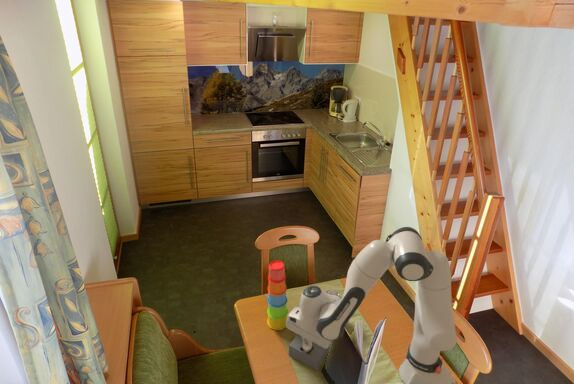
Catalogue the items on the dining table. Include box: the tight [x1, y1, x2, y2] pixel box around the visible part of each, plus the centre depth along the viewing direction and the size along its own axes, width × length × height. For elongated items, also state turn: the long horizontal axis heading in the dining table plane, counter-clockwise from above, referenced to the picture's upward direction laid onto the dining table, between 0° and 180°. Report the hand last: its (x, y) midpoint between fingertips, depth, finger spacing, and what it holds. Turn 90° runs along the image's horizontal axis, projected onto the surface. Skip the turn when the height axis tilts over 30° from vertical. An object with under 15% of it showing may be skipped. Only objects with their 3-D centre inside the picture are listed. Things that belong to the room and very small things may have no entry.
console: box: [288, 334, 332, 371], centre depth 170 cm, size 14×19×6 cm
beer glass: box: [325, 289, 340, 296], centre depth 184 cm, size 7×7×15 cm
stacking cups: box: [266, 260, 289, 331], centre depth 175 cm, size 10×10×35 cm
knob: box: [302, 343, 312, 354], centre depth 164 cm, size 4×4×6 cm
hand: (307, 343), depth 162 cm, fingers closed, pressing on knob
